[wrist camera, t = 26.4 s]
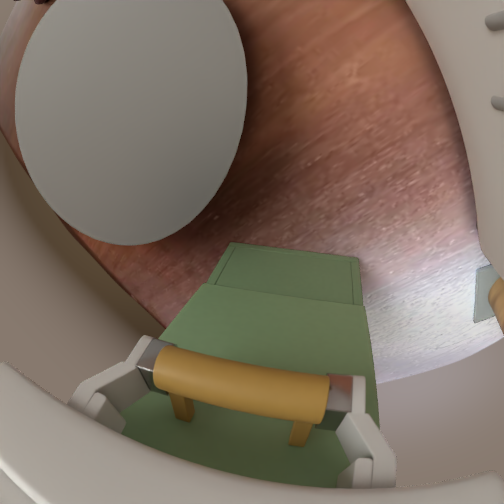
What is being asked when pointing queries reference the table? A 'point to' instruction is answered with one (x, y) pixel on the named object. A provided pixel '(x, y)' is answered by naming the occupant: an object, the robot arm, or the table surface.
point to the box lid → (254, 385)
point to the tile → (484, 292)
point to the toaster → (474, 99)
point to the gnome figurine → (36, 1)
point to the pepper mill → (497, 301)
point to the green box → (289, 273)
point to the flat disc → (131, 112)
